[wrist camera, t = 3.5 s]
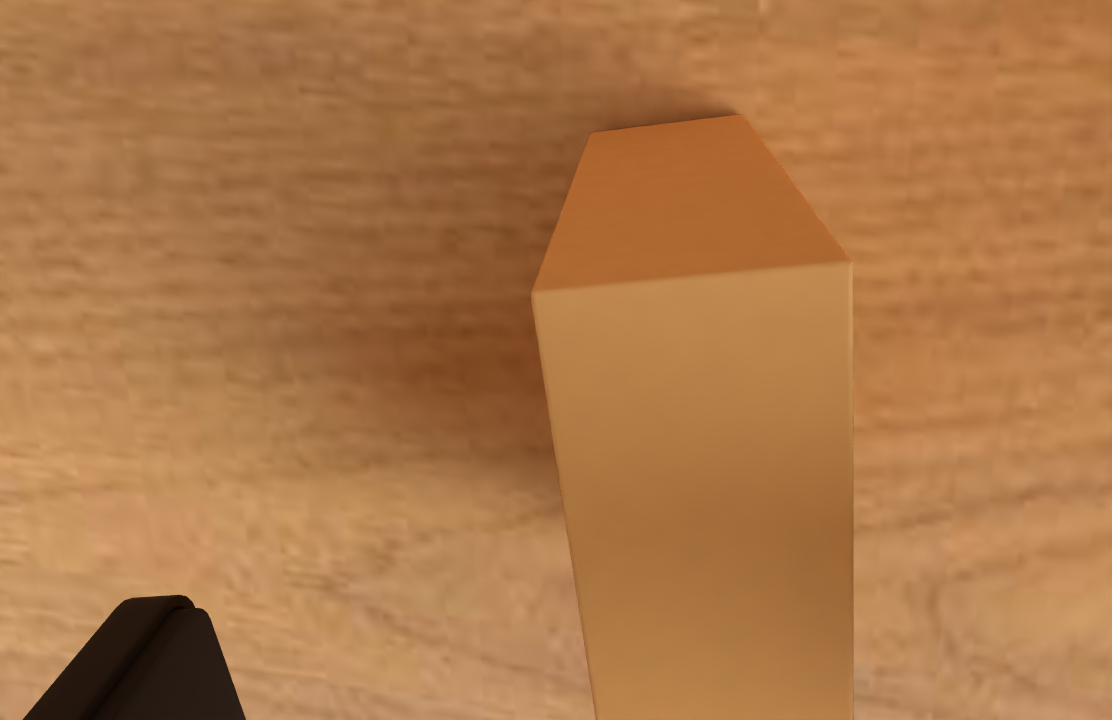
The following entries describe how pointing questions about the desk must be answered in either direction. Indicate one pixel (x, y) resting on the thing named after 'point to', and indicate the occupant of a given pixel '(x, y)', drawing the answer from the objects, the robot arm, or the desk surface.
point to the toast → (702, 427)
